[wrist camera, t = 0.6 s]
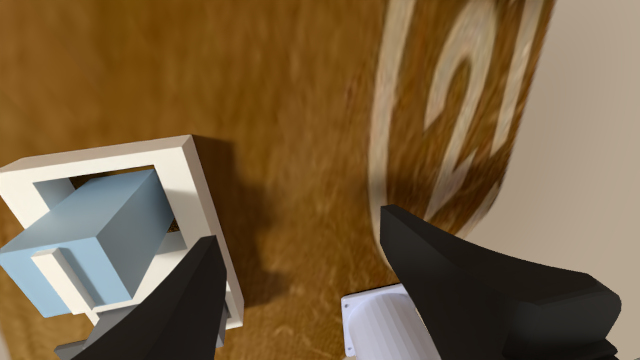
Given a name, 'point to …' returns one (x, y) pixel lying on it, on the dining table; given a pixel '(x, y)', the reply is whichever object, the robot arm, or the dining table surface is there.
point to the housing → (166, 154)
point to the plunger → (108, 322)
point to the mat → (69, 350)
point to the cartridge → (91, 244)
